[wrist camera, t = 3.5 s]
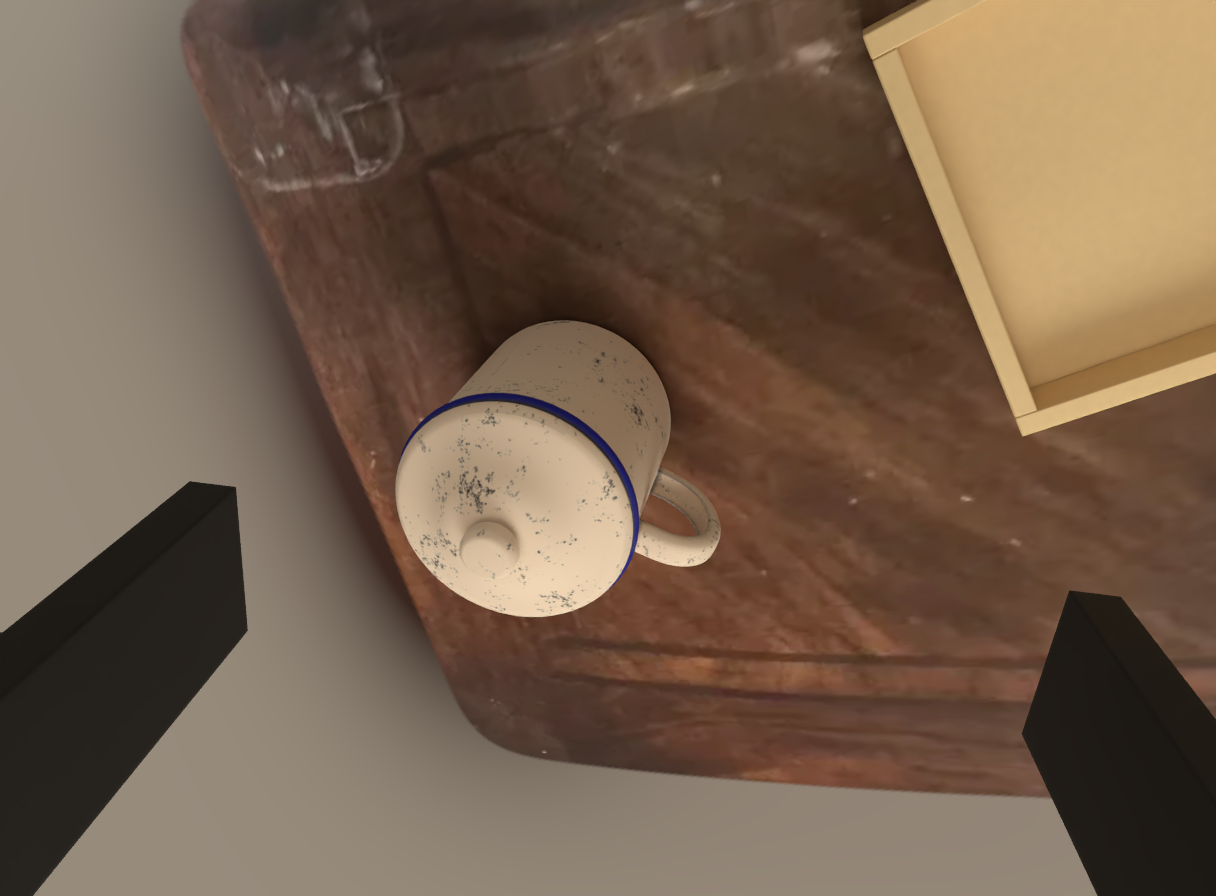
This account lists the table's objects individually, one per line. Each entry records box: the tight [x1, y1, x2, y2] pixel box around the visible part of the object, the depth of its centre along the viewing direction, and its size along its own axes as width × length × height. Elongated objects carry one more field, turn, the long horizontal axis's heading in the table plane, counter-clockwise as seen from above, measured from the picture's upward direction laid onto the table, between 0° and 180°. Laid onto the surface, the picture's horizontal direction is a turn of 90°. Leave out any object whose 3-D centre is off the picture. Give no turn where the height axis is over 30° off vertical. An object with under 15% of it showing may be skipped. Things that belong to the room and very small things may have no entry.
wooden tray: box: [862, 0, 1216, 436], centre depth 29 cm, size 15×15×3 cm
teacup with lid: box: [396, 320, 721, 617], centre depth 35 cm, size 12×9×12 cm
